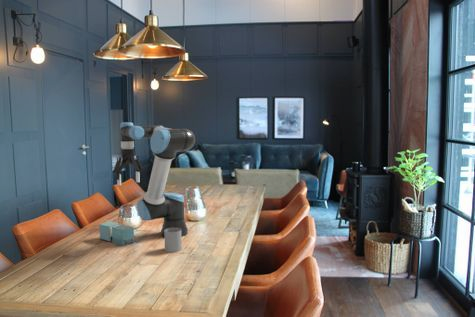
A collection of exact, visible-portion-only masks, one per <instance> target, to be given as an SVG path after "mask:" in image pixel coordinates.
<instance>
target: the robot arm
mask: <svg viewBox="0 0 475 317" xmlns="http://www.w3.org/2000/svg"><path fill="white" fill-rule="evenodd" d="M119 131H120V148H121V149H120V150H121V151H120V153H121V157H119V156H117V157H116V162H115V165H114V168H113V171H112V173H113V174H114V175H115V179H116V182H117V184H116V185H117V186H122V174H121V172H122V170H123V169H124V168H125V166H126V165H132V166H133V168H134V169H135V182H136V183H140V177H141V172H142V171H143V170H144V167H143V166H142V163H141V162H140V160H139V156H138V155H135V149H134V148H135V140H145V139H150V149H151V150H150V151H152V154H153V155H154V159H153V164H152V169H151V173H150V178H149V183H148V188H147V191H145V193H144V194H143V196H142V198H140V199H139V200H137V202H136V209H137V213H138V215H139V217H140V219H141V220H142V221H143V222H144V221H146V222H147V221H152V220H153V221H154V220H157V219H158V220H159V219H163V223H162V228H161V230H160V235H161V236H162V237H164V230H165V229H168V228H180V229H181V237H183V236H187V235H188V233H189V231H188V227H187V223H186V220H185V197H184V195H183V194H181V193H175V192H165V189H166V184H167V181H168V177H169V173H170V168H171V165H172V161H173V160H174V159H176V158H177V154H178V153H180V152H187V151H189V150H191V149H192V148H193V146H195V143H196V137H195V134H194V132H193V131H192V130H191V129H190V130H189V129H188V128H169V127H164V126H163V125H157V124H156V125H134V123H133V122H120V124H119Z"/></svg>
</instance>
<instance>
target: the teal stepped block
mask: <svg viewBox="0 0 475 317" xmlns="http://www.w3.org/2000/svg"><path fill="white" fill-rule="evenodd" d="M134 231H135V226H130V225H127V224H120V225H119V226H115V227H112V237H111V241H110V242H112V244H114V245H118V246H122V247H125V246H128V245H131V244H134V243H135V235H134V234H135V232H134Z"/></svg>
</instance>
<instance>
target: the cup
mask: <svg viewBox="0 0 475 317" xmlns="http://www.w3.org/2000/svg"><path fill="white" fill-rule="evenodd" d="M163 237H164V251H165V252H167V253H177V252H180V251H182V250H183V247H182V246H183V245H182V244H183V243H182V236H181V229H180V228H168V229H165V230H164V236H163Z"/></svg>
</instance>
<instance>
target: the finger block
mask: <svg viewBox="0 0 475 317" xmlns="http://www.w3.org/2000/svg"><path fill="white" fill-rule="evenodd" d="M119 225H121V223H118V222H115V221H105V222H102V223H99V224H98V227H99V228H98V229H99V230H98V231H99V239H101V240H104V241H108V242H112V241H111V237H112V227H115V226H119Z"/></svg>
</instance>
